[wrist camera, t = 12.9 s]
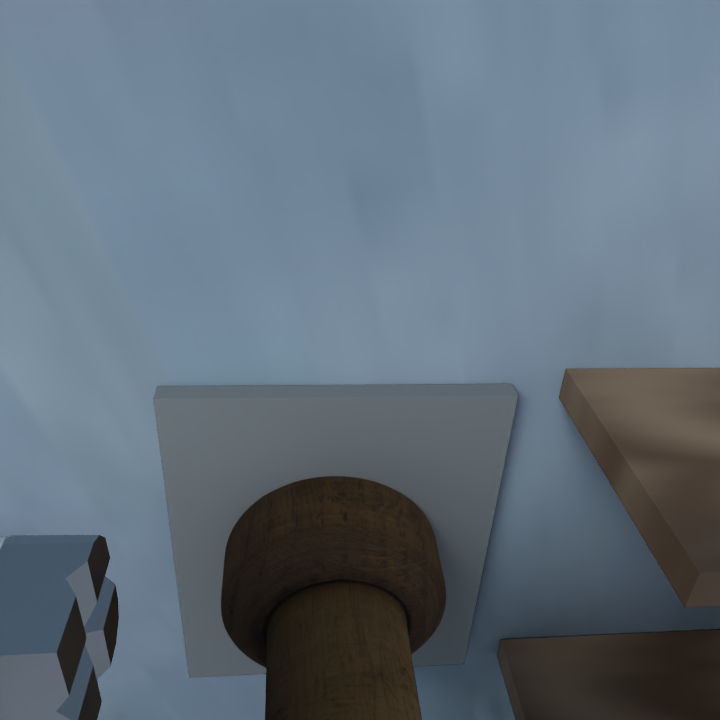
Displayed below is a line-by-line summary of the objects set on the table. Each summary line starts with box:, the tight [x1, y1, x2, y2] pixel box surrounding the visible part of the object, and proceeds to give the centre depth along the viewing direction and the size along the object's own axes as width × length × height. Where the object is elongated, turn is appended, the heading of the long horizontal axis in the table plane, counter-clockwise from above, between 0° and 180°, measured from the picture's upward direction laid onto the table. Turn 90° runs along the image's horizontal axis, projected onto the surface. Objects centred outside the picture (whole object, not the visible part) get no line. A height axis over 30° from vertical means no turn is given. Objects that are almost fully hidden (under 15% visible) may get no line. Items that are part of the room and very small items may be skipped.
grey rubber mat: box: [153, 384, 518, 678], centre depth 22 cm, size 10×12×1 cm
